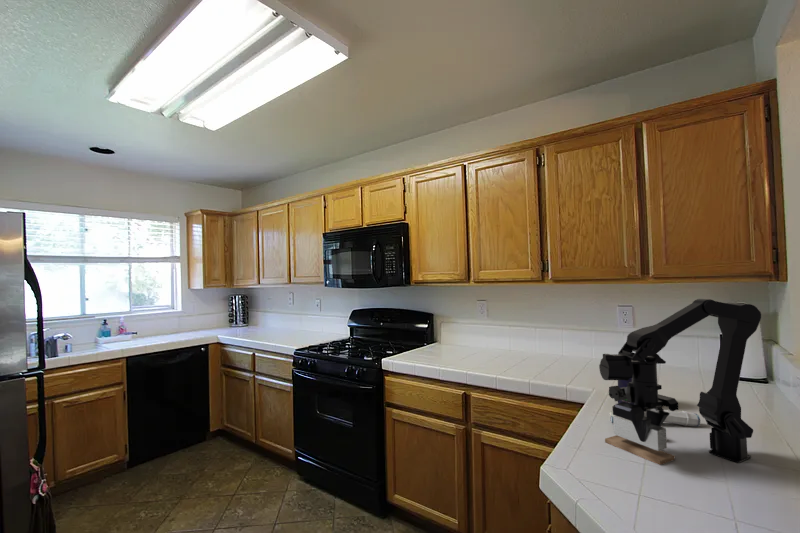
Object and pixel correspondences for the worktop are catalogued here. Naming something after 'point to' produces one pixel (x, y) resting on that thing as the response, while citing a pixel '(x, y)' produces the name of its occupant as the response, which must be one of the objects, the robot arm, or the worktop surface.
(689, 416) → the toothbrush head
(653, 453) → the board
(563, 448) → the worktop surface
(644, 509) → the worktop surface
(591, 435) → the worktop surface
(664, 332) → the robot arm
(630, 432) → the steel bar
